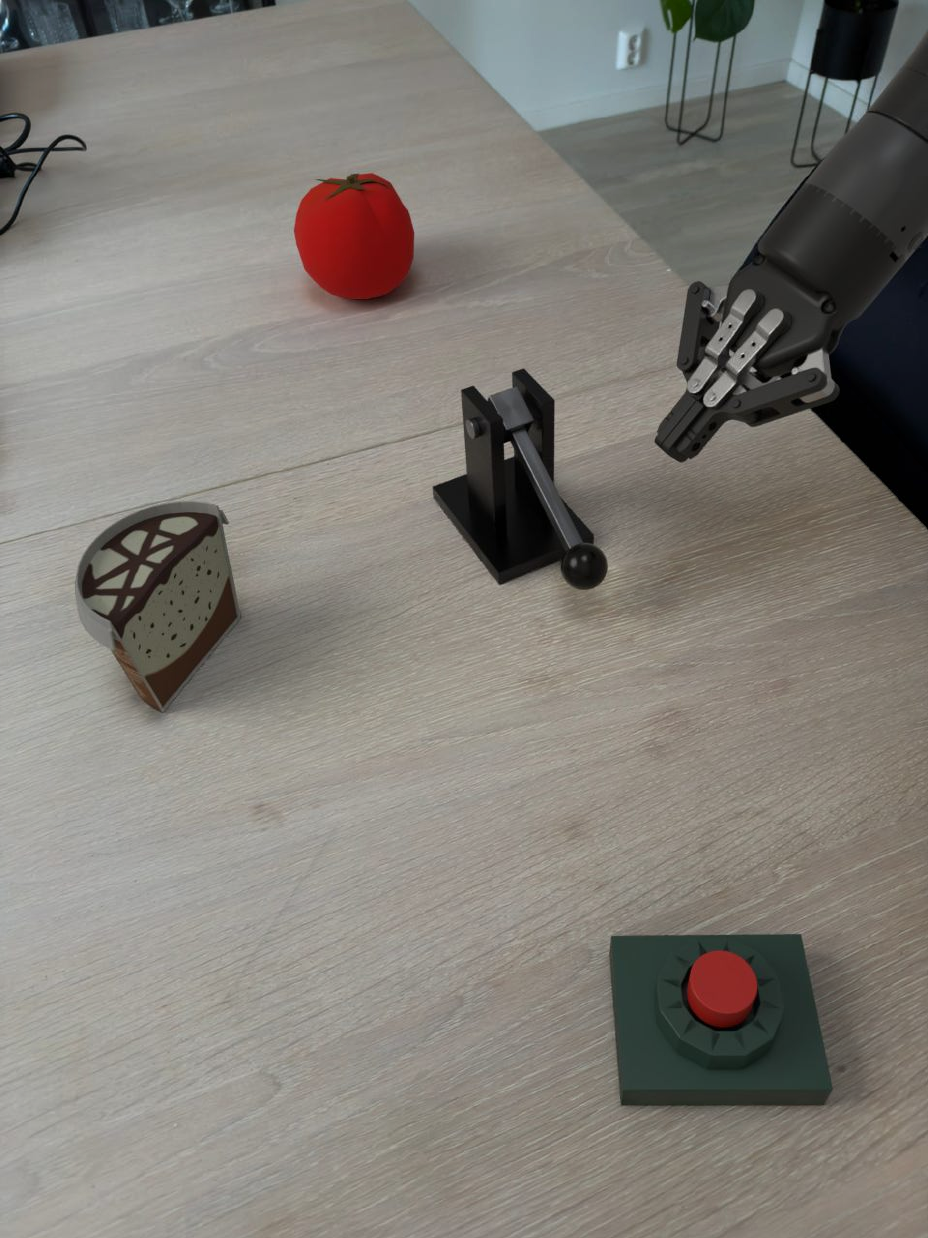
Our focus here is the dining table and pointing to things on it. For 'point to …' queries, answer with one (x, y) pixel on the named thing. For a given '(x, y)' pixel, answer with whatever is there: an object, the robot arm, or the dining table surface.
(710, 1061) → the control block
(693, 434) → the robot arm
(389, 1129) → the dining table surface
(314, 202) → the tomato
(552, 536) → the black bracket
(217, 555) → the cake slice
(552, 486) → the lever
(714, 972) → the button
